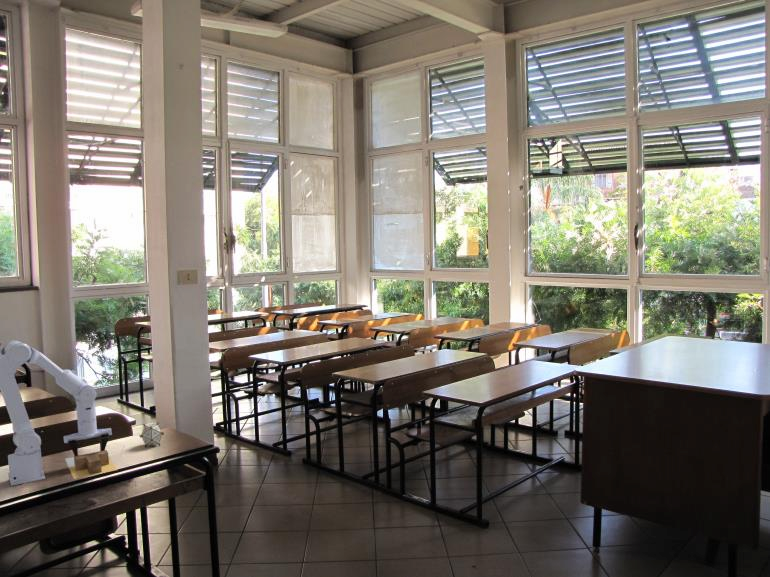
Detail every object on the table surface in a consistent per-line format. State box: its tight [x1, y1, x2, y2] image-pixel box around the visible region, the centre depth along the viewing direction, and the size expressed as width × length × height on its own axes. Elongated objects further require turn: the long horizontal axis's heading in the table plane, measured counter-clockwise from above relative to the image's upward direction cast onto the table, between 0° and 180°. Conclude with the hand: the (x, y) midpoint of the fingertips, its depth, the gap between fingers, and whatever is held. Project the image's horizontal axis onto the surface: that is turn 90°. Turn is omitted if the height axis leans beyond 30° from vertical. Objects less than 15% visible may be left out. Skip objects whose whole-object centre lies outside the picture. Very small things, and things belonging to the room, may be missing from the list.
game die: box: [138, 422, 165, 448], centre depth 238 cm, size 9×8×10 cm
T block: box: [73, 449, 110, 475], centre depth 214 cm, size 10×10×4 cm
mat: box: [64, 455, 118, 480], centre depth 220 cm, size 13×24×1 cm, turn 32°
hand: (89, 459), depth 220 cm, fingers open, 7 cm apart
